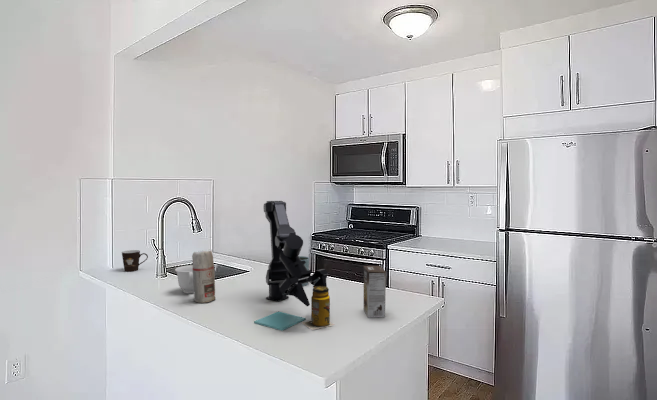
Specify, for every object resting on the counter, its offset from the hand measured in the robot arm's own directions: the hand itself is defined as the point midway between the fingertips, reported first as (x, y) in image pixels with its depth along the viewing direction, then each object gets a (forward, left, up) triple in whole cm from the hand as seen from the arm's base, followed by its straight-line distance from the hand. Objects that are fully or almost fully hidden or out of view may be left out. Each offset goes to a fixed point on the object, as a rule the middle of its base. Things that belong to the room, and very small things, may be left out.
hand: (318, 302), depth 129 cm
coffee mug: (-125, +10, -8) cm, 126 cm away
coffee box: (+10, +21, -8) cm, 24 cm away
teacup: (-66, +1, -8) cm, 67 cm away
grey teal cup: (-37, +37, -8) cm, 53 cm away
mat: (-12, -4, -7) cm, 15 cm away
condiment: (0, +1, -8) cm, 8 cm away
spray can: (-52, -3, -8) cm, 53 cm away
